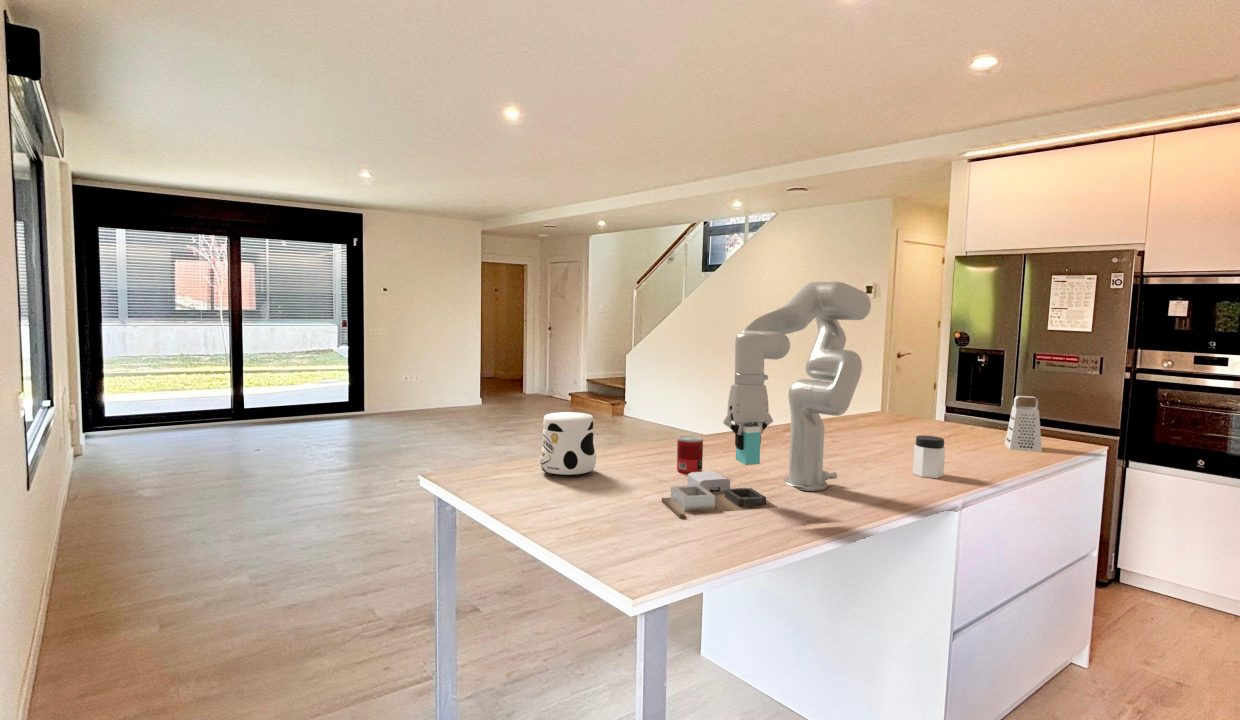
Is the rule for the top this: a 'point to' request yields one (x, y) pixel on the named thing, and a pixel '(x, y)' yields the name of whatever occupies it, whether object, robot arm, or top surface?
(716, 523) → the top surface
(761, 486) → the top surface
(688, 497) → the frame
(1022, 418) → the grater
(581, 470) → the milk container
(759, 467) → the top surface
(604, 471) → the top surface
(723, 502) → the brown socket board
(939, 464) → the jar
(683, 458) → the canned food
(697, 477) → the charger
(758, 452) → the plug
